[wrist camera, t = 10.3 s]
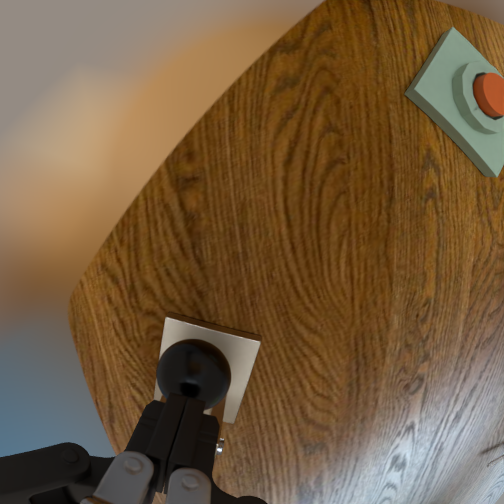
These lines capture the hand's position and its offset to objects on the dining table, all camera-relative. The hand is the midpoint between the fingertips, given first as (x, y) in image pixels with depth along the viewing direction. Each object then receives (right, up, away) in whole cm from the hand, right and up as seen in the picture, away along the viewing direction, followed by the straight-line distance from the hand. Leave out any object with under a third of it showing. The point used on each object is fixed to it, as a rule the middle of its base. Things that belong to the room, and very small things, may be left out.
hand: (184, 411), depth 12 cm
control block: (+24, +21, +12) cm, 35 cm away
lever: (-1, -2, +7) cm, 8 cm away
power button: (+24, +21, +9) cm, 33 cm away
